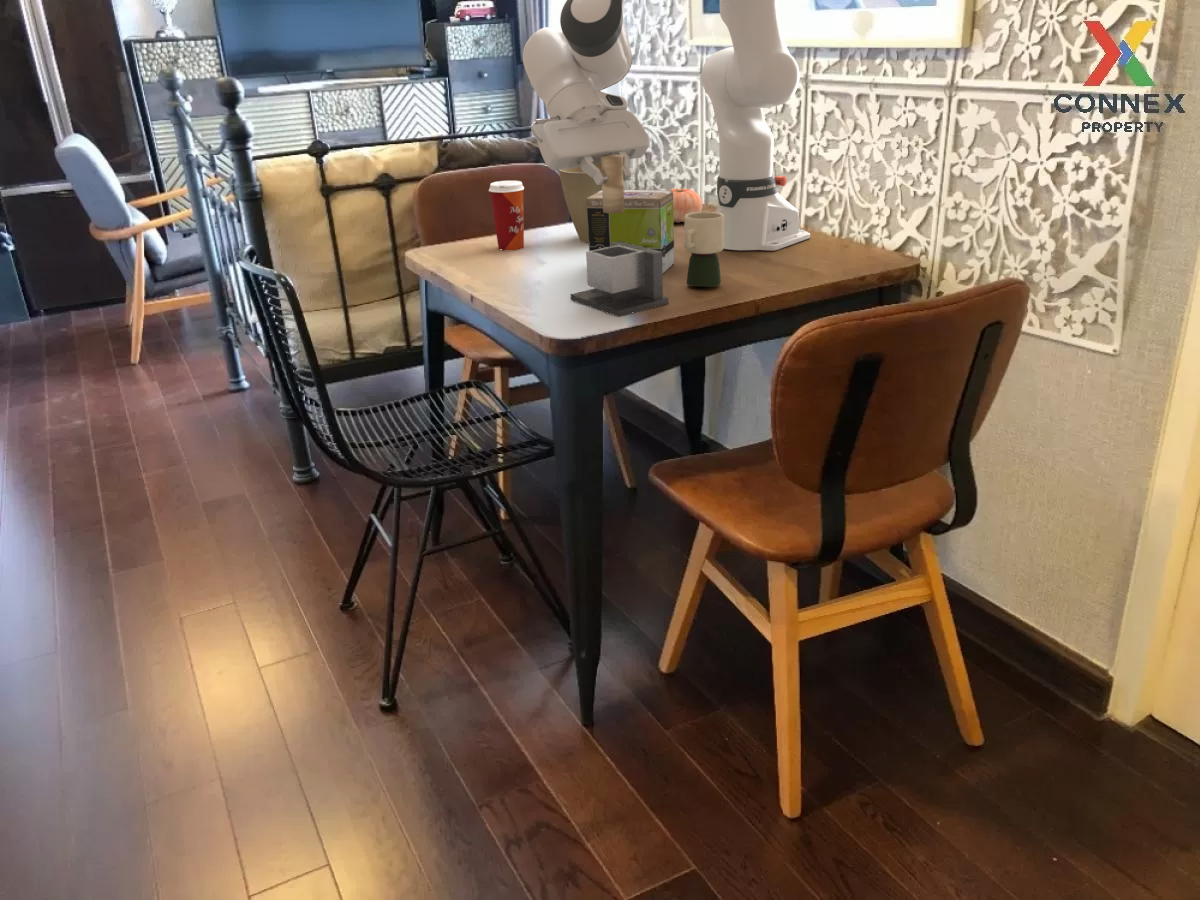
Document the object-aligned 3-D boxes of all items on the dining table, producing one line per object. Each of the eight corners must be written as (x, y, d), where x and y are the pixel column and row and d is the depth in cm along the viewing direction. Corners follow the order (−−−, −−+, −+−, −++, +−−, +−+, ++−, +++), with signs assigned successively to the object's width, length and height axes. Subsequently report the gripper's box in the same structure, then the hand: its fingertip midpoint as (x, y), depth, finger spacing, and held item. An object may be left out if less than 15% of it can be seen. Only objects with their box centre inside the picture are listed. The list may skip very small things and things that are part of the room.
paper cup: (523, 252, 202) (518, 186, 196) (489, 251, 204) (483, 186, 198) (532, 243, 209) (528, 179, 203) (499, 243, 211) (494, 179, 205)
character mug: (704, 277, 178) (704, 208, 172) (736, 282, 174) (737, 211, 168) (670, 290, 171) (670, 218, 165) (703, 296, 166) (703, 222, 161)
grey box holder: (619, 288, 173) (617, 239, 169) (668, 303, 163) (667, 252, 159) (570, 299, 167) (568, 249, 164) (618, 316, 157) (616, 263, 153)
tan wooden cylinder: (615, 208, 160) (614, 154, 157) (628, 211, 158) (627, 156, 154) (598, 211, 159) (596, 156, 155) (611, 214, 156) (609, 158, 152)
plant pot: (588, 229, 220) (585, 160, 213) (640, 235, 212) (639, 163, 205) (549, 242, 209) (544, 169, 202) (603, 249, 201) (600, 173, 195)
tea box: (675, 263, 188) (674, 188, 182) (661, 276, 180) (661, 198, 173) (604, 260, 193) (602, 187, 187) (588, 272, 184) (585, 196, 178)
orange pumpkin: (710, 219, 226) (711, 185, 222) (685, 227, 218) (685, 193, 215) (673, 215, 232) (673, 182, 229) (648, 223, 224) (647, 189, 221)
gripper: (533, 107, 150) (571, 175, 147) (632, 96, 161) (669, 160, 158) (520, 134, 156) (556, 201, 153) (617, 122, 166) (653, 184, 163)
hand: (615, 180), depth 155 cm, fingers closed on tan wooden cylinder, 4 cm apart
